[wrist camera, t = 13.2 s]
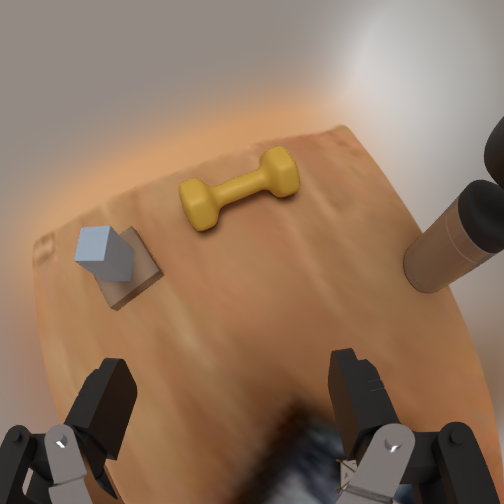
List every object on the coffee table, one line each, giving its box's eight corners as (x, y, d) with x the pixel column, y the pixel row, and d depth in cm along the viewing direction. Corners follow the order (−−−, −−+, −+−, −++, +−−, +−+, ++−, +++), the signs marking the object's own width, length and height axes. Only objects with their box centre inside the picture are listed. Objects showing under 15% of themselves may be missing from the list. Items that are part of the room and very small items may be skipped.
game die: (338, 458, 35) (315, 458, 29) (387, 435, 34) (375, 431, 28) (354, 502, 28) (334, 514, 22) (406, 480, 27) (400, 488, 21)
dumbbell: (279, 164, 52) (280, 133, 45) (303, 201, 49) (308, 172, 41) (182, 202, 50) (170, 174, 42) (198, 244, 47) (186, 220, 39)
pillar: (134, 251, 44) (110, 225, 35) (130, 281, 42) (103, 260, 33) (108, 252, 44) (81, 227, 35) (103, 281, 42) (74, 260, 34)
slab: (138, 233, 48) (131, 225, 46) (165, 276, 45) (159, 270, 42) (95, 266, 46) (87, 260, 44) (118, 311, 43) (110, 307, 40)
